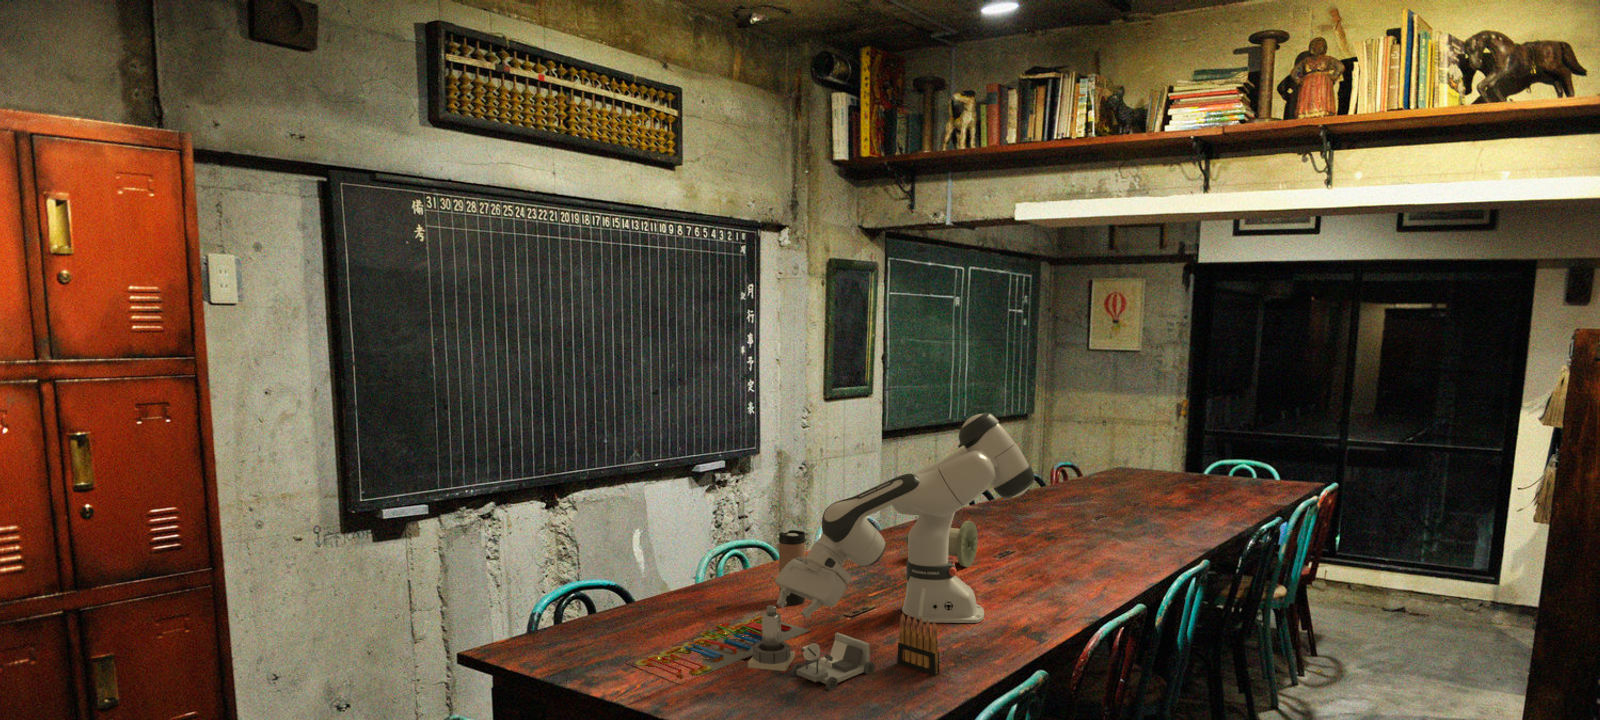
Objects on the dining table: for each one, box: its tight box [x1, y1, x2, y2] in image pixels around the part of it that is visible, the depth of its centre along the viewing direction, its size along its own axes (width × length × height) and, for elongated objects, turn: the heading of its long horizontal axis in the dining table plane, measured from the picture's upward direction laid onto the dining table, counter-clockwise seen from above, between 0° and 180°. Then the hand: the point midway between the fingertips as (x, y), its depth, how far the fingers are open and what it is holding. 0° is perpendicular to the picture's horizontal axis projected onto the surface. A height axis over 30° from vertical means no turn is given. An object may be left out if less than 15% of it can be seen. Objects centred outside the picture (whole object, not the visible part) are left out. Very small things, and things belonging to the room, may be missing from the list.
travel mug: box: [778, 529, 806, 606], centre depth 244 cm, size 8×8×20 cm
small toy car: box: [791, 632, 876, 691], centre depth 191 cm, size 18×10×12 cm
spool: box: [948, 520, 979, 568], centre depth 286 cm, size 16×15×15 cm
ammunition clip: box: [896, 612, 940, 677], centre depth 195 cm, size 11×2×12 cm, turn 47°
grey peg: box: [761, 604, 782, 652], centre depth 199 cm, size 4×4×12 cm
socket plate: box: [747, 641, 796, 672], centre depth 199 cm, size 9×9×4 cm
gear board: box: [635, 614, 811, 679], centre depth 209 cm, size 45×2×19 cm
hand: (791, 611), depth 204 cm, fingers open, 8 cm apart
